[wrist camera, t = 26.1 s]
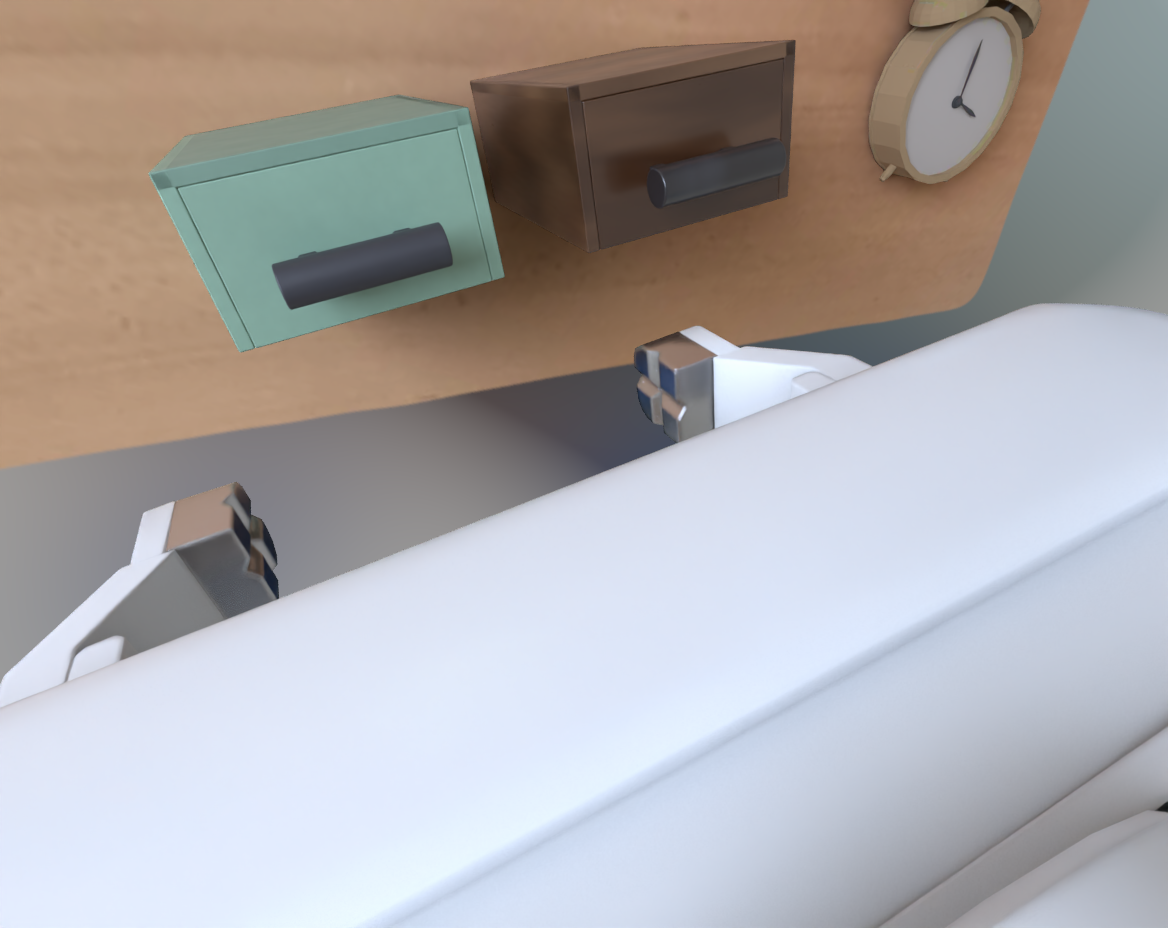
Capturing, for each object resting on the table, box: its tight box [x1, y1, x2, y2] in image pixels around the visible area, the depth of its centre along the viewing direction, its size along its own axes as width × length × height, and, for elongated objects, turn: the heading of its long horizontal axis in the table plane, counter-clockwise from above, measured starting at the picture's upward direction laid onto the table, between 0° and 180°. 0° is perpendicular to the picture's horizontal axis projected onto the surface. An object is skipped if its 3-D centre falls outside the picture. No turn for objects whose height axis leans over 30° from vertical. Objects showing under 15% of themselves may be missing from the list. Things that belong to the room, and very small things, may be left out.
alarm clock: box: [869, 0, 1041, 184], centre depth 46 cm, size 11×5×15 cm
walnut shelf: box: [470, 40, 795, 253], centre depth 32 cm, size 17×11×6 cm
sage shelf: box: [149, 95, 505, 352], centre depth 28 cm, size 17×11×6 cm
